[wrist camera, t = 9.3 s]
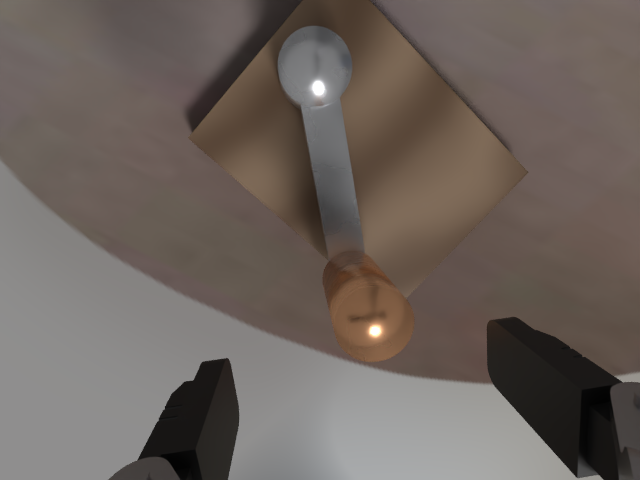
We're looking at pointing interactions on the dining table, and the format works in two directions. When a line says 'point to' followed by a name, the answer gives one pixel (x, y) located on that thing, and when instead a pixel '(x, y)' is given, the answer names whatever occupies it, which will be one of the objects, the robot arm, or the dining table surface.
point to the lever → (341, 200)
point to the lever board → (367, 145)
